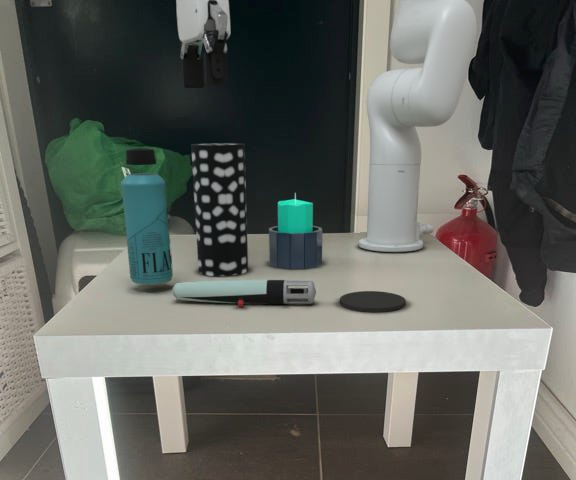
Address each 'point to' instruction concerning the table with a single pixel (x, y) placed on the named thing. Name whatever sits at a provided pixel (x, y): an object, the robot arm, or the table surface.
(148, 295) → the table surface
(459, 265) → the table surface
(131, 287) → the table surface
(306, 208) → the candle
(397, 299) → the coaster
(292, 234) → the holder
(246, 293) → the flashlight
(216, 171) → the spotted tube
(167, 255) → the beverage bottle
